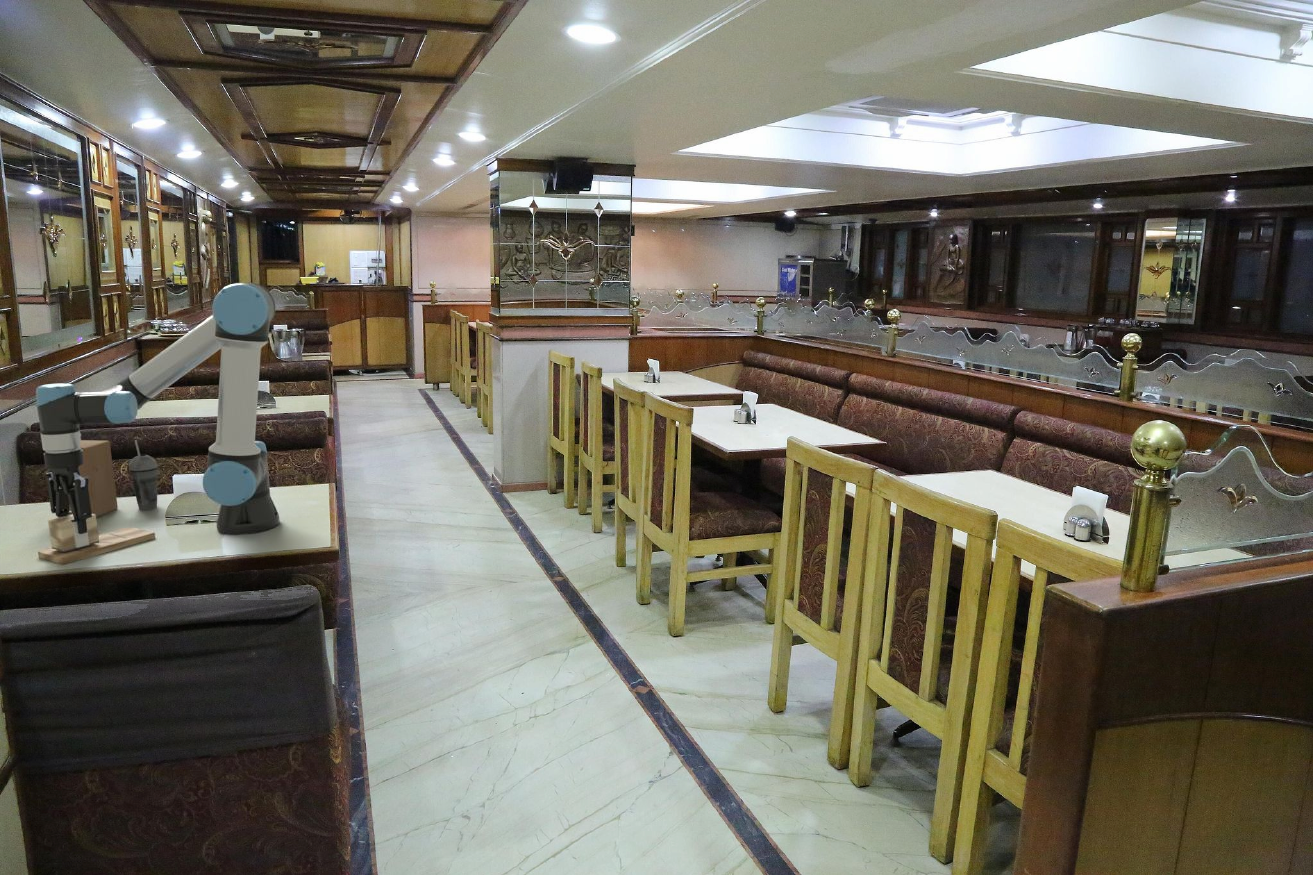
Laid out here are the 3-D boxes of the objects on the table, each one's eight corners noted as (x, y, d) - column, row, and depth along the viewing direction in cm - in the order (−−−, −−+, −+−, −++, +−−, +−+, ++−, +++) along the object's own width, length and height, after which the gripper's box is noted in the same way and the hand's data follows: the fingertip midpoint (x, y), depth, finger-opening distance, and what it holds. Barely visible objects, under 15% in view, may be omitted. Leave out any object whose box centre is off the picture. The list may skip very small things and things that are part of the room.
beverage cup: (167, 507, 241) (160, 439, 237) (140, 513, 235) (132, 443, 231) (155, 503, 245) (147, 436, 241) (128, 508, 239) (120, 440, 235)
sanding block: (99, 542, 204) (95, 514, 203) (64, 551, 197) (59, 523, 196) (87, 538, 206) (83, 511, 205) (52, 548, 199) (47, 520, 198)
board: (155, 538, 214) (154, 532, 214) (63, 564, 195) (62, 558, 194) (131, 532, 218) (130, 526, 218) (38, 557, 199) (37, 551, 199)
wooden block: (94, 519, 229) (85, 447, 226) (59, 518, 230) (49, 447, 226) (118, 508, 239) (110, 440, 235) (84, 508, 239) (75, 439, 235)
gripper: (102, 450, 196) (114, 545, 201) (58, 442, 204) (70, 534, 209) (68, 457, 190) (80, 554, 194) (23, 448, 198) (37, 542, 202)
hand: (75, 543), depth 201 cm, fingers closed on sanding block, 5 cm apart
